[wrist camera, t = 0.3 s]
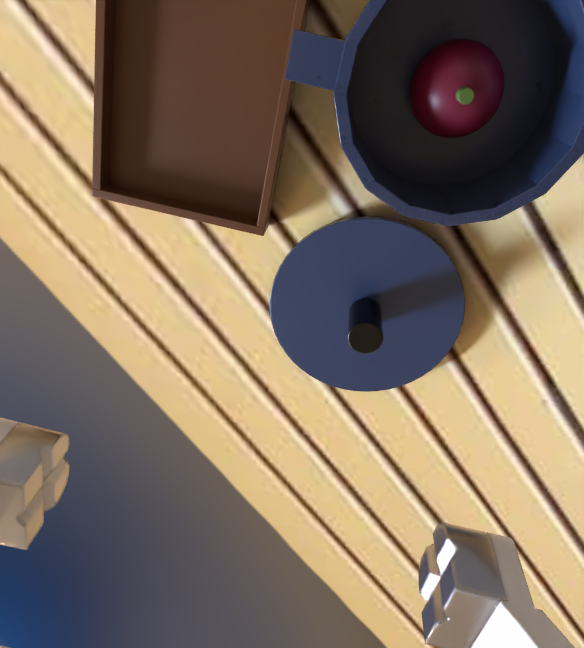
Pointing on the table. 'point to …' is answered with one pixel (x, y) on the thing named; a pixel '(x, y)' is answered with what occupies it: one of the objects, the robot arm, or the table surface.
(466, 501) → the table surface
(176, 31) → the tray
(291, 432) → the table surface
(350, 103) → the pot
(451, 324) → the lid
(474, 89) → the beet
